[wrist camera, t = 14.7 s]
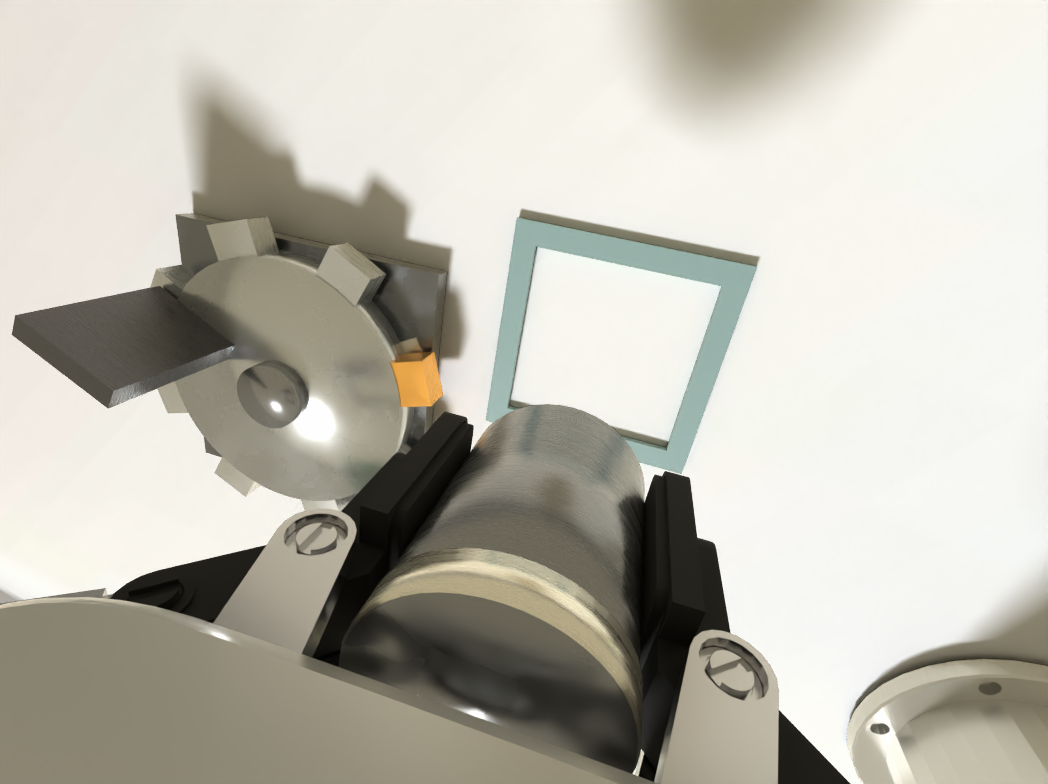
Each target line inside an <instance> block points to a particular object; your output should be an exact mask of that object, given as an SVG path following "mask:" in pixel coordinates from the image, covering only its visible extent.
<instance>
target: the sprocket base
mask: <svg viewBox="0 0 1048 784" xmlns="http://www.w3.org/2000/svg"><path fill="white" fill-rule="evenodd" d="M176 222H177V229H178V237H179V245H180V253H181V261H182V266H184V267H185V268H186V269H187V270H189V271H190V272H191V273H192V274H194V275H196V274H197V273H198V272H200V271H201V270H203V269H204V268H206V267H207V266H209V265H211V264H214V263H216V262H218V258H217V255H216V252H215V249H214V246H213V243H212V240H211V238H210V235H209V232H208V229H207V226H206V225H211V224H217V223H224V222H228V221H224V220H219V219H215V218H211V217H206V216H202V215H198V214H193V213H191V214H176ZM273 234H274V237H275V240H276V243H277V247H278V250H279V252H281V253H290V254H295V255H299V256H303V257H307V258H310V259H312V260H314V261H317V262H319V263H321V262H322V260H323V258H324V256H325V254H326V252H327V250H328V248H329V246H333V245H329V244H325V243H320V242H316V241H312V240H307V239H303V238H298V237H294V236H290V235H285V234H281V233H276V232H273ZM359 252H360V251H359ZM360 253H361V254H362V255H364V256H365V257H366V258H367V259H369V260H370V261H371V262H372V263H373V264H375V265H376V266H377V267H378V268H380V269H381V270H382V271H383V272H384V273H386V276H385V278H384V279H383V281H382V283H381V284H380V286H379V288H378V289H377V291H376V293H375V294H374V296H373V298H372V301H373V302H374V304H375V305H376V306H377V307H378V308H379V309H380V310H381V312H382V313H383V315H384V316H385V317H386V319H387V320H388V322H389V323H390V325H391V326H392V328H393V330H394V331H395V333H396V335H397V337H398V339H399V340H400V343H401V345H402V347H403V350H404V352H405V353H421V352H434V353H435V358H436V363H437V367H438V359H439V349H440V339H441V329H442V319H443V309H444V299H445V289H446V279H447V271H443V270H439V269H434V268H430V267H426V266H421V265H417V264H412V263H408V262H404V261H399V260H395V259H390V258H386V257H382V256H377V255H373V254H369V253H364V252H360ZM433 409H434V404H433V405H432V406H421V407H415V409H414V418H413V423H412V427H411V431H410V435H409V437H408V439H407V442H406V444H407V445H409V446H410V447H411V448H412V447H413V446H414V445H415V444H416V443H417V442H418V441H419V440H420V438H421V437H422V436H423V435H424V434H425V433H426V432H427V431H428V430H429V428H430V427H431V426H432V419H433ZM204 441H205V449H206V452H207V453H210V454H213V455H216V456H219V457H222V456H221V455H220V454H219V453H218V452H217V451H216V450H215V449H214V448H213V446H212V445H211V444H210V443H209V442H208V441H207V439H206V438H205V437H204ZM357 494H358V493H356V494H354V495H352V496H353V498H354V497H355V496H356V495H357Z"/></svg>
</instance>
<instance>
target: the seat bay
mask: <svg viewBox="0 0 1048 784" xmlns="http://www.w3.org/2000/svg"><path fill="white" fill-rule="evenodd" d="M536 247H541V248H546V249H550V250H555V251H560V252H564V253H569V254H574V255H578V256H583V257H588V258H592V259H597V260H602V261H606V262H611V263H616V264H621V265H625V266H630V267H635V268H639V269H644V270H649V271H653V272H658V273H663V274H667V275H672V276H677V277H681V278H686V279H691V280H696V281H700V282H705V283H710V284H714V285H719V286H722V287H721V290H720V293H719V296H718V298H717V301H716V304H715V307H714V310H713V313H712V316H711V319H710V322H709V325H708V328H707V331H706V334H705V337H704V339H703V342H702V345H701V348H700V351H699V354H698V357H697V360H696V363H695V366H694V369H693V372H692V375H691V378H690V380H689V383H688V386H687V389H686V392H685V395H684V398H683V401H682V404H681V407H680V410H679V413H678V416H677V419H676V421H675V424H674V427H673V430H672V433H671V436H670V439H669V442H668V445H667V448H665V447H661V446H658V445H654V444H650V443H646V442H643V441H639V440H635V439H631V438H628V437H624V436H622V437H623V438H624V439H625V441H626V442H627V443H628V445H629V446H630V447H631V448H632V450H633V452H634V454H635V455H636V457H637V459H638V462H640V463H644V464H647V465H651V466H654V467H658V468H662V469H665V470H669V471H673V472H676V473H680V474H681V473H682V471H683V468H684V465H685V462H686V460H687V457H688V454H689V452H690V449H691V446H692V443H693V441H694V438H695V435H696V432H697V430H698V427H699V424H700V422H701V419H702V416H703V413H704V411H705V408H706V405H707V402H708V400H709V397H710V394H711V391H712V389H713V386H714V383H715V381H716V378H717V375H718V372H719V370H720V367H721V364H722V361H723V359H724V356H725V353H726V351H727V348H728V345H729V342H730V340H731V337H732V334H733V331H734V329H735V326H736V323H737V320H738V318H739V315H740V312H741V310H742V307H743V304H744V301H745V299H746V296H747V293H748V290H749V288H750V285H751V282H752V280H753V277H754V274H755V271H756V269H757V267H756V266H753V265H749V264H744V263H739V262H734V261H729V260H724V259H719V258H714V257H710V256H705V255H700V254H695V253H690V252H685V251H680V250H675V249H671V248H666V247H661V246H656V245H651V244H646V243H641V242H636V241H632V240H627V239H622V238H617V237H612V236H607V235H602V234H597V233H592V232H588V231H583V230H578V229H573V228H568V227H563V226H558V225H553V224H549V223H544V222H539V221H534V220H529V219H524V218H519V217H518V218H517V220H516V227H515V233H514V240H513V246H512V253H511V260H510V266H509V273H508V279H507V286H506V292H505V299H504V305H503V312H502V318H501V325H500V331H499V338H498V344H497V351H496V357H495V364H494V370H493V377H492V383H491V390H490V396H489V403H488V409H487V416H486V420H487V421H490V422H495V421H496V420H497V419H499V418H500V417H502V416H503V415H505V414H507V413H509V412H512V411H514V410H517V409H519V408H516V407H512V406H509V402H510V397H511V391H512V385H513V379H514V373H515V368H516V362H517V356H518V350H519V345H520V339H521V333H522V327H523V322H524V316H525V310H526V304H527V299H528V293H529V287H530V281H531V276H532V270H533V264H534V258H535V253H536Z"/></svg>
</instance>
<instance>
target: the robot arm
mask: <svg viewBox="0 0 1048 784" xmlns="http://www.w3.org/2000/svg"><path fill="white" fill-rule="evenodd" d="M472 436H473V425H471V424H467V418H466V417H463V416H459V415H456V414H452V413H448V412H444V413H443V414H442V415H441V416H440V417H439V418H438V420H437V421H436V422H435V423H434V424H433V425H432V426H431V427H430V428H429V430H428V431H427V432H426V433H425V434H424V435H423V436H422V437H421V438H420V440H419V441H418V442H417V443H416V444H415V445H414V446H413V447H412V448H411V450H410V451H409V452H408V453H407V454H404V453H400V452H399V453H396V454H395V455H393V456H392V457H391V459H390V460H389V461H388V462H387V463H386V464H385V465H384V466H383V467H382V468H381V469H380V470H379V471H378V472H377V473H376V474H375V476H374V477H373V478H372V479H371V480H370V481H369V482H368V483H367V484H366V485H365V486H364V487H363V488H362V489H361V490H360V491H359V492H358V494H357V495H356V496H355V497H354V498H353V499H352V500H351V501H350V502H349V503H348V504H347V505H346V506H345V507H344V508H343V509H342V511H337V510H333V509H320V508H319V509H312V510H306V511H304V512H301V513H298V514H295V515H294V516H292V517H290V518H289V519H287V520H285V521H284V522H283V524H282V525H281V526H280V527H279V528H278V529H277V531H276V532H275V533H274V535H273V536H272V538H271V539H270V541H269V542H268V544H267V545H265V546H260V547H256V548H252V549H248V550H243V551H239V552H235V553H231V554H226V555H222V556H218V557H214V558H209V559H205V560H201V561H197V562H192V563H188V564H184V565H179V566H175V567H171V568H167V569H162V570H158V571H155V572H152V573H149V574H146V575H143V576H140V577H138V578H136V579H135V580H133V581H131V582H129V583H127V584H126V585H124V586H123V587H122V588H120V589H119V590H118V591H116V592H115V593H114V594H112V595H108V594H107V591H106V588H104V589H97V590H90V591H83V592H76V593H69V594H63V595H56V596H49V597H42V598H35V599H28V600H21V601H15V602H7V603H0V784H850V783H849V782H848V781H847V780H846V779H845V778H844V777H843V776H842V775H841V774H840V773H839V772H838V771H837V770H836V769H835V768H834V767H833V765H832V764H831V763H830V762H829V761H828V760H827V759H826V758H825V757H824V756H823V755H822V754H821V753H820V752H819V751H818V750H817V749H816V748H815V747H814V746H813V745H812V744H811V743H810V742H809V741H808V740H807V739H806V738H805V737H804V735H803V734H802V733H801V732H800V731H799V730H798V729H797V728H796V727H795V726H794V725H793V724H792V723H791V722H790V721H789V720H788V719H787V718H786V717H785V716H784V715H783V714H782V713H781V712H780V711H779V688H778V683H777V678H776V676H775V674H774V672H773V670H772V668H771V665H770V664H769V663H768V662H767V660H766V659H765V658H764V657H763V655H762V654H761V653H760V652H759V651H758V650H756V649H755V648H754V647H753V646H752V645H751V644H750V643H748V642H746V641H745V640H743V639H741V638H740V637H738V636H736V635H733V634H731V633H730V628H729V622H728V616H727V610H726V605H725V599H724V593H723V587H722V581H721V575H720V569H719V563H718V557H717V551H716V547H715V544H714V543H713V542H710V541H707V540H703V539H700V538H697V533H696V525H695V517H694V509H693V500H692V492H691V484H690V478H689V477H685V476H681V475H678V474H674V473H670V472H667V471H665V472H664V474H663V476H658V475H654V477H653V480H652V482H651V485H650V488H649V491H648V494H647V497H646V500H645V503H644V531H643V567H642V604H641V641H640V667H641V671H642V682H643V701H642V742H641V749H642V751H641V753H640V757H639V761H638V765H637V768H636V772H635V775H633V774H631V773H628V772H625V771H623V770H620V769H617V768H614V767H612V766H609V765H606V764H604V763H601V762H598V761H596V760H593V759H590V758H587V757H585V756H582V755H579V754H577V753H574V752H571V751H568V750H566V749H563V748H560V747H558V746H555V745H552V744H550V743H547V742H544V741H541V740H539V739H536V738H533V737H530V736H528V735H525V734H522V733H519V732H517V731H514V730H511V729H508V728H506V727H503V726H500V725H497V724H495V723H492V722H489V721H486V720H484V719H481V718H478V717H475V716H473V715H470V714H467V713H465V712H462V711H459V710H456V709H453V708H451V707H448V706H445V705H442V704H440V703H437V702H434V701H431V700H429V699H426V698H423V697H420V696H418V695H415V694H412V693H409V692H407V691H404V690H401V689H398V688H395V687H393V686H390V685H387V684H384V683H382V682H379V681H376V680H373V679H370V678H368V677H365V676H362V675H359V674H356V673H354V672H351V671H348V670H345V669H342V668H340V667H339V658H340V649H341V645H342V642H343V638H344V635H345V634H346V632H347V630H348V628H349V626H350V625H351V623H352V622H353V620H354V619H355V617H356V616H357V614H358V613H359V611H360V610H361V608H362V607H363V605H364V604H365V603H366V601H367V600H368V598H369V597H370V595H371V594H372V592H373V591H374V589H375V588H376V586H377V585H378V583H379V582H380V581H381V580H382V579H383V578H384V576H385V575H386V574H387V573H388V572H390V571H391V570H392V568H393V567H394V565H395V564H396V562H397V561H398V559H399V558H400V556H401V555H402V553H403V552H404V550H405V549H406V547H407V546H408V544H409V543H410V541H411V540H412V538H413V537H414V536H415V534H416V533H417V531H418V530H419V528H420V527H421V525H422V524H423V522H424V521H425V519H426V518H427V516H428V515H429V513H430V512H431V510H432V509H433V507H434V506H435V504H436V503H437V501H438V500H439V498H440V497H441V495H442V494H443V492H444V491H445V489H446V488H447V486H448V485H449V483H450V482H451V480H452V479H453V477H454V476H455V474H456V473H457V471H458V470H459V468H460V467H461V465H462V464H463V463H464V461H465V460H466V458H467V457H468V455H469V454H470V451H471V444H472ZM847 743H848V748H849V753H850V756H851V759H852V761H853V764H854V767H855V769H856V772H857V775H858V777H859V778H860V780H861V781H862V783H863V784H1048V666H1045V665H1039V664H1033V663H1027V662H1021V661H1015V660H996V659H974V660H958V661H951V662H945V663H940V664H934V665H929V666H925V667H922V668H919V669H916V670H913V671H910V672H907V673H904V674H902V675H900V676H898V677H896V678H894V679H892V680H890V681H888V682H886V683H884V684H882V685H881V686H880V687H878V688H877V689H876V690H874V691H873V692H872V693H870V694H869V695H868V696H866V697H865V699H864V700H863V701H862V702H861V703H860V705H859V706H858V707H857V708H856V710H855V711H854V713H853V715H852V718H851V720H850V722H849V724H848V733H847Z"/></svg>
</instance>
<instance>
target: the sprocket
mask: <svg viewBox="0 0 1048 784" xmlns="http://www.w3.org/2000/svg"><path fill="white" fill-rule="evenodd" d="M206 226H207V229H208V232H209V235H210V238H211V240H212V243H213V246H214V249H215V252H216V255H217V258H218V262H216V263H214V264H211V265H209V266H207V267H206V268H204V269H203V270H201V271H200V272H198V273H197V274H196V275H194V274H192V273H191V272H190V271H189V270H187V269H186V268H185V267H184V266H182V265H178V266H172V267H166V268H160V269H156V272H155V275H154V278H153V281H152V284H151V287H150V288H147V289H142V290H137V291H132V292H127V293H122V294H117V295H113V296H108V297H103V298H98V299H93V300H88V301H83V302H78V303H73V304H68V305H64V306H59V307H54V308H49V309H44V310H39V311H34V312H29V313H24V314H19V315H15V320H14V326H13V332H12V335H13V336H14V337H16V338H17V339H18V340H19V341H21V342H22V343H23V344H25V345H26V346H27V347H29V348H30V349H31V350H32V351H34V352H35V353H36V354H38V355H39V356H40V357H42V358H43V359H44V360H46V361H47V362H48V363H49V364H51V365H52V366H53V367H55V368H56V369H57V370H59V371H60V372H61V373H62V374H64V375H65V376H66V377H68V378H69V379H70V380H72V381H73V382H74V383H76V384H77V385H78V386H79V387H81V388H82V389H83V390H85V391H86V392H87V393H89V394H90V395H91V396H92V397H94V398H95V399H96V400H98V401H99V402H100V403H102V404H103V405H104V406H106V407H107V408H111V407H113V406H115V405H118V404H120V403H123V402H125V401H128V400H130V399H133V398H135V397H137V396H140V395H142V394H145V393H147V392H150V391H152V390H155V389H158V391H159V394H160V396H161V398H162V401H163V403H164V405H165V408H166V410H167V412H168V413H189V414H190V416H191V418H192V420H193V421H194V423H195V424H196V426H197V427H198V429H199V430H200V431H201V433H202V434H203V436H204V437H205V438H206V439H207V441H208V442H209V443H210V444H211V445H212V446H213V448H214V449H215V450H216V451H217V452H218V453H219V454H220V455H221V456H222V459H221V461H220V463H219V465H218V467H217V469H216V471H215V474H217V475H218V476H219V477H221V478H222V479H223V480H225V481H226V482H227V483H228V484H230V485H231V486H232V487H234V488H235V489H236V490H238V491H239V492H240V493H241V494H243V495H244V496H245V497H246V496H247V495H248V494H250V493H251V492H252V491H254V490H255V489H256V488H258V487H259V486H260V485H262V486H264V487H266V488H268V489H270V490H273V491H275V492H277V493H280V494H283V495H286V496H289V497H293V498H298V499H301V501H302V504H303V506H304V509H305V511H306V510H312V509H319V508H320V509H333V510H337V511H342V509H343V508H344V507H345V506H346V505H347V504H348V503H349V502H350V501H351V500H352V499H353V496H352V495H354V494H356V493H358V492H359V491H360V490H361V489H362V488H363V487H364V486H365V485H366V484H367V483H368V482H369V481H370V480H371V479H372V478H373V477H374V476H375V474H376V473H377V472H378V471H379V470H380V469H381V468H382V467H383V466H384V465H385V464H386V463H387V462H388V461H389V460H390V459H391V457H392V456H393V455H395V454H396V453H399V452H400V453H404V454H407V453H408V452H409V451H410V450H411V447H410V446H409V445H407V444H406V442H407V439H408V437H409V435H410V431H411V427H412V423H413V418H414V409H415V407H421V406H432V405H433V404H434V403H435V402H436V401H437V400H438V399H439V398H440V397H441V396H442V395H443V392H442V387H441V382H440V377H439V372H438V367H437V363H436V358H435V353H434V352H421V353H405V352H404V350H403V347H402V345H401V343H400V340H399V339H398V337H397V335H396V333H395V331H394V330H393V328H392V326H391V325H390V323H389V322H388V320H387V319H386V317H385V316H384V315H383V313H382V312H381V310H380V309H379V308H378V307H377V306H376V305H375V304H374V302H373V301H372V298H373V296H374V294H375V293H376V291H377V289H378V288H379V286H380V284H381V283H382V281H383V279H384V278H385V276H386V273H384V272H383V271H382V270H381V269H380V268H378V267H377V266H376V265H375V264H373V263H372V262H371V261H370V260H369V259H367V258H366V257H365V256H364V255H362V254H361V253H360V252H359V251H358V250H356V249H355V248H354V247H353V246H351V245H350V244H349V243H344V244H338V245H333V246H329V248H328V250H327V252H326V254H325V256H324V258H323V260H322V262H321V263H319V262H317V261H314V260H312V259H310V258H307V257H303V256H299V255H295V254H290V253H281V252H279V250H278V247H277V243H276V240H275V237H274V234H273V230H272V227H271V224H270V220H269V217H263V218H251V219H242V220H236V221H230V222H224V223H217V224H211V225H206Z"/></svg>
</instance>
